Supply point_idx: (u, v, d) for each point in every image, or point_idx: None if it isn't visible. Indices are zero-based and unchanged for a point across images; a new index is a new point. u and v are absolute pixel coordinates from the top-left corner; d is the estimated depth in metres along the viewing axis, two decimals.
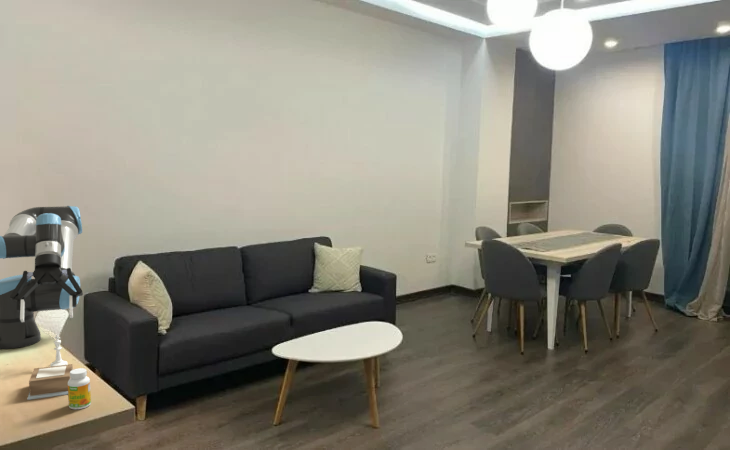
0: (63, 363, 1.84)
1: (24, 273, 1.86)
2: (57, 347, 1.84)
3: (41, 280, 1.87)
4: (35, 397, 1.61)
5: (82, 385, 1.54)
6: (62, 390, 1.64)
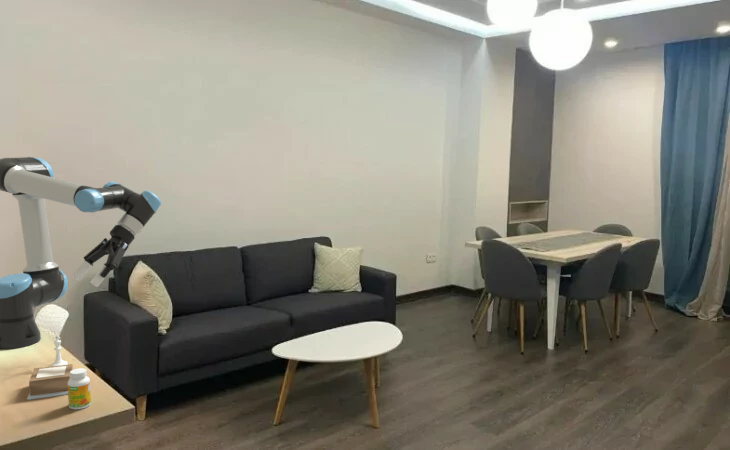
0: (63, 363, 1.84)
1: None
2: (57, 347, 1.84)
3: None
4: (35, 397, 1.61)
5: (82, 385, 1.54)
6: (62, 390, 1.64)
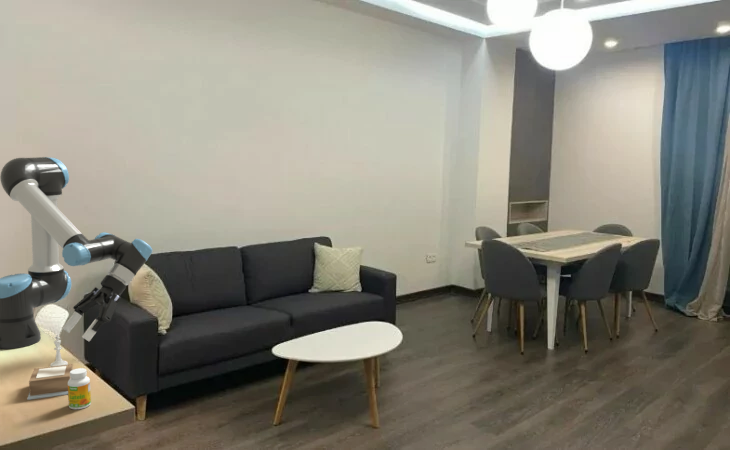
0: (63, 363, 1.84)
1: None
2: (57, 347, 1.84)
3: None
4: (35, 397, 1.61)
5: (82, 385, 1.54)
6: (62, 390, 1.64)
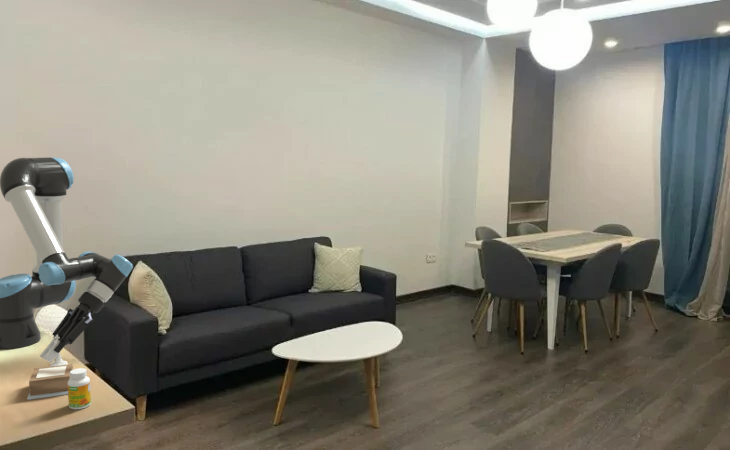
0: (63, 363, 1.84)
1: None
2: None
3: None
4: (35, 397, 1.61)
5: (82, 385, 1.54)
6: (62, 390, 1.64)
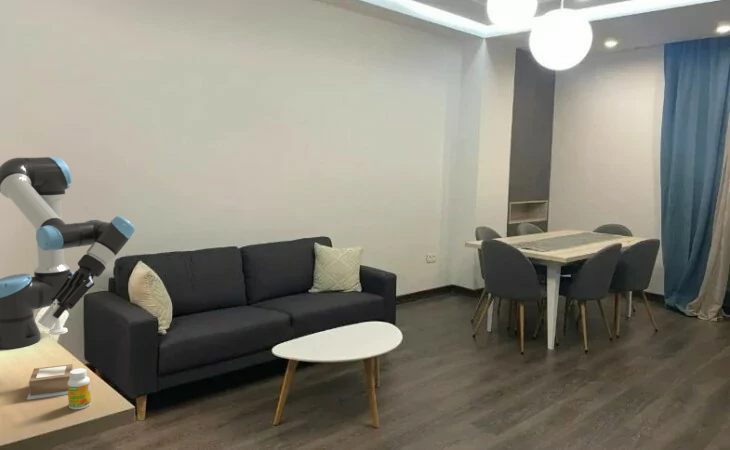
0: (63, 329, 1.73)
1: None
2: None
3: None
4: (35, 397, 1.61)
5: (82, 385, 1.54)
6: (62, 390, 1.64)
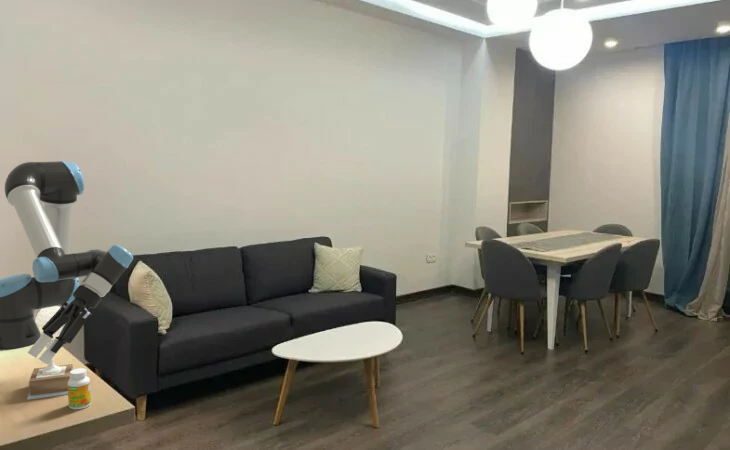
0: (56, 369, 1.66)
1: None
2: None
3: None
4: (35, 397, 1.61)
5: (82, 385, 1.54)
6: (62, 390, 1.64)
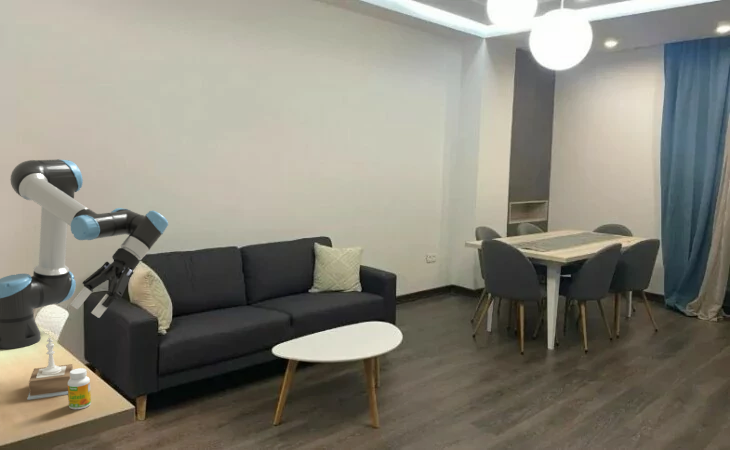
0: (56, 369, 1.66)
1: None
2: (50, 351, 1.66)
3: None
4: (35, 397, 1.61)
5: (82, 385, 1.54)
6: (62, 390, 1.64)
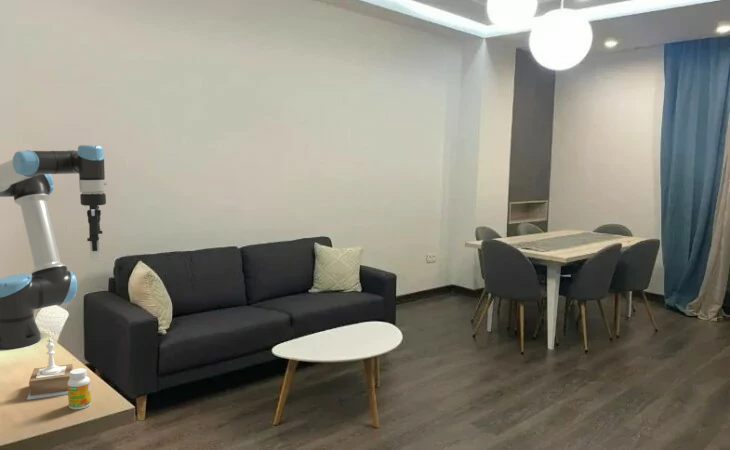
0: (56, 369, 1.66)
1: (97, 212, 1.85)
2: (50, 351, 1.66)
3: None
4: (35, 397, 1.61)
5: (82, 385, 1.54)
6: (62, 390, 1.64)
